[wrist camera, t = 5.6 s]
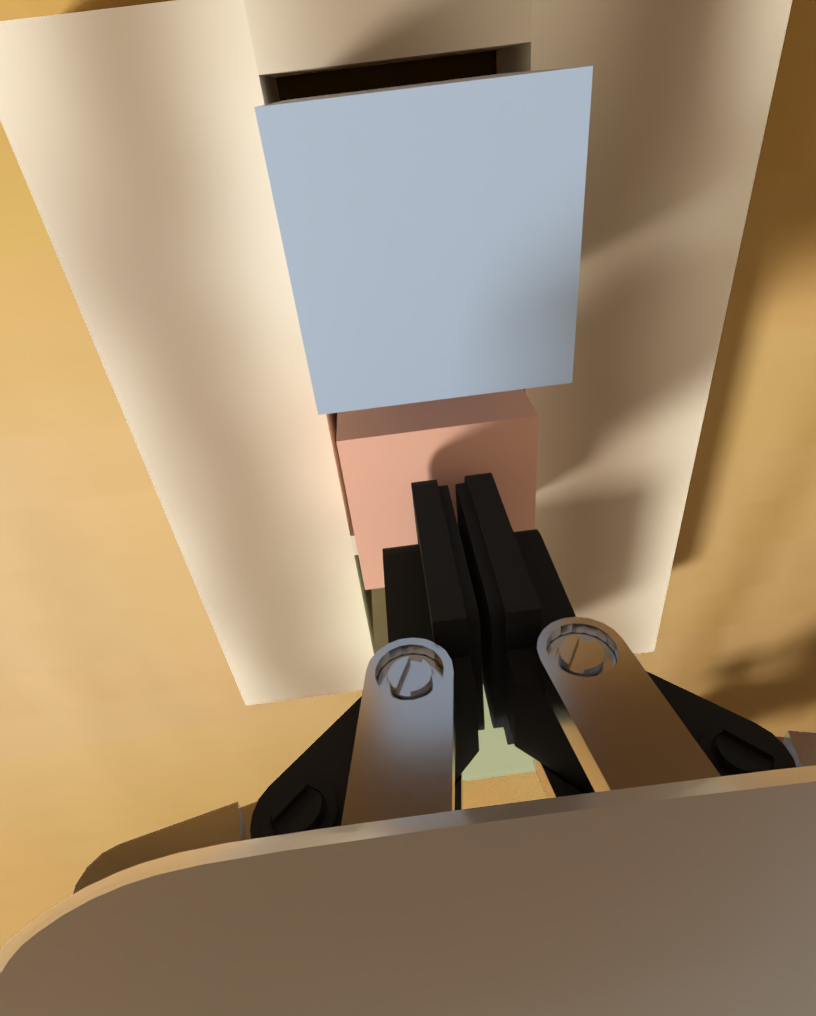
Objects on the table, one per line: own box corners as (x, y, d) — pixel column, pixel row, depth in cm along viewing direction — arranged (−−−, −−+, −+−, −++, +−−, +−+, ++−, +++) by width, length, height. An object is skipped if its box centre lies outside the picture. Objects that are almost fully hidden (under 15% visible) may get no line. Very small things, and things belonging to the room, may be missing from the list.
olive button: (504, 535, 17) (552, 671, 13) (505, 629, 20) (546, 769, 16) (369, 553, 17) (376, 695, 13) (386, 645, 20) (395, 789, 16)
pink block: (489, 330, 16) (538, 415, 12) (491, 459, 18) (533, 568, 14) (339, 349, 16) (336, 441, 12) (360, 476, 18) (365, 590, 14)
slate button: (502, 73, 11) (593, 65, 7) (504, 292, 13) (572, 382, 9) (289, 99, 11) (253, 106, 7) (327, 314, 13) (318, 414, 9)
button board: (717, -44, 12) (808, -77, 10) (621, 590, 23) (653, 651, 20) (38, 38, 12) (-39, 26, 10) (256, 638, 23) (245, 705, 20)
